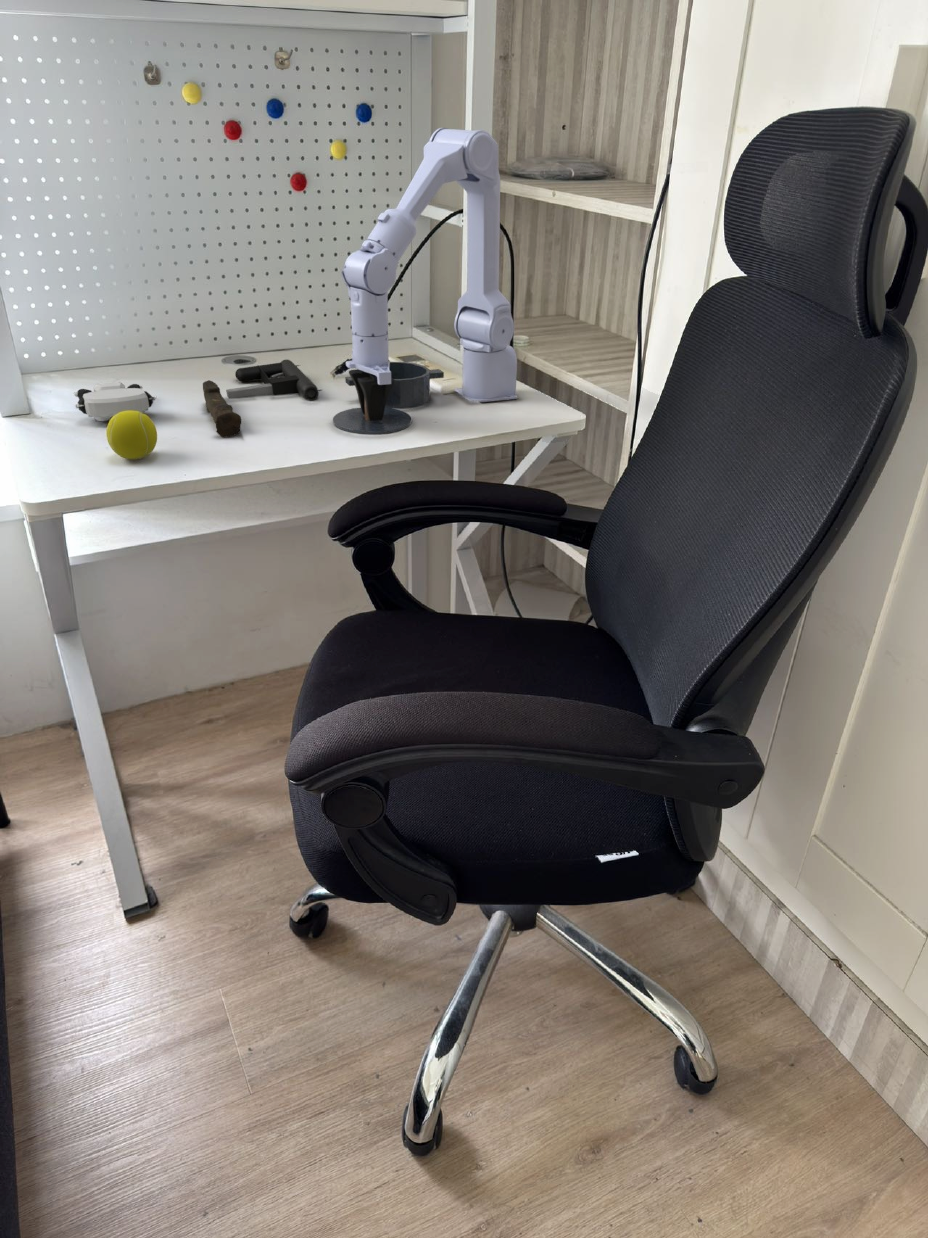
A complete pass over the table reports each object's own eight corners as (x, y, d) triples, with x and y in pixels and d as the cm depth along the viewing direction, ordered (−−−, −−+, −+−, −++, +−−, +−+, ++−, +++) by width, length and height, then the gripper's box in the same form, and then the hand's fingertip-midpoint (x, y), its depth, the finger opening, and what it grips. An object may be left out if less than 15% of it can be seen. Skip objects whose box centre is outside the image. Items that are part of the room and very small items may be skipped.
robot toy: (73, 409, 158) (81, 429, 145) (68, 383, 156) (76, 400, 143) (147, 402, 162) (161, 420, 150) (143, 376, 160) (156, 392, 148)
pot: (338, 396, 166) (337, 365, 163) (429, 387, 172) (429, 358, 169) (358, 415, 156) (357, 383, 153) (453, 406, 162) (454, 375, 159)
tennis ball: (163, 448, 139) (156, 403, 136) (157, 465, 134) (150, 418, 130) (115, 450, 138) (107, 404, 135) (107, 466, 132) (98, 419, 129)
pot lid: (324, 417, 155) (322, 389, 152) (396, 410, 159) (396, 383, 157) (345, 441, 144) (344, 412, 142) (422, 432, 149) (422, 404, 147)
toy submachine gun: (233, 396, 155) (324, 383, 160) (213, 367, 171) (297, 356, 176) (236, 415, 157) (327, 401, 162) (216, 385, 173) (299, 373, 178)
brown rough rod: (243, 436, 145) (240, 407, 143) (217, 438, 144) (214, 409, 142) (225, 403, 161) (222, 376, 158) (202, 404, 159) (199, 378, 157)
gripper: (333, 324, 149) (336, 406, 156) (359, 345, 137) (362, 432, 144) (374, 321, 151) (376, 402, 158) (403, 341, 140) (404, 428, 146)
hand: (372, 416), depth 151 cm, fingers open, 3 cm apart
